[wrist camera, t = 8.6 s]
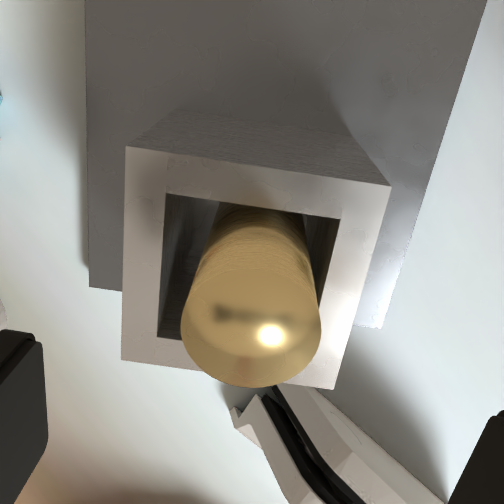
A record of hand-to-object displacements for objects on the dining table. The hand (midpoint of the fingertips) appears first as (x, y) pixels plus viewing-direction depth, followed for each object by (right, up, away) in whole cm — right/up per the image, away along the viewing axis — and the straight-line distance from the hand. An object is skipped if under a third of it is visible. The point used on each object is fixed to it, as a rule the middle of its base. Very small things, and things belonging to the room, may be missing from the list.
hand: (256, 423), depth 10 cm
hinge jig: (0, +10, +10) cm, 14 cm away
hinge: (+7, -9, +19) cm, 22 cm away
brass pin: (0, +6, +11) cm, 13 cm away
